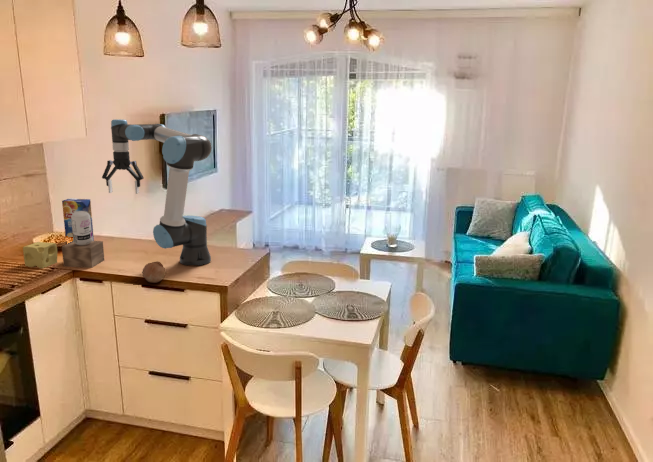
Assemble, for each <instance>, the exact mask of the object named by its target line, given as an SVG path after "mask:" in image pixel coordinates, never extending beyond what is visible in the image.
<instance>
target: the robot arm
mask: <svg viewBox="0 0 653 462" xmlns="http://www.w3.org/2000/svg"><path fill="white" fill-rule="evenodd" d="M110 125H111V126H110V130H111V141H112V142H111V143H112V150H113V152H112V154H113V155H112V157H113V160H111V159H110V160H109V159H108V160H107V162H106V167H105V169H104V171H103V174H102V177H101V178H102V179H104V180H105V182H106V186H107V187H108V194H112V193H113V182H112V179H111V178H112V177H113V176H114V174H115V173H117V172H116V171H117V170H119V171H121V170H122V171H124V170H126V171H128V173H129V174H130V175H131V176H132V177H133V178H134V180H135V181H134V188H135V189H134V193H135V195H136V194H139V193H140V189H139V188H140V187H141V180H144V178H145V177H144V176H143V174H142V172H141V170H140V168H139V166H138V165H137V161H136V160H132V161H131V160H130V151H129V150H130V147H129V141H133V142H136V141H137V142H138V141H146V140H149V141H150V140H155V141H158V142H161V143H163V145H162V149H161V152H162V155H163V156H162V158H163V160H164V161H165V162H166V166H168V168H169V170H168V178H167V184H166V185H167V187H166V194H165V204H164V213H163V215H162V216H161V217H160V218H159V224H156V225H155V226H153V230H152V235H153V238H154V241H155V242H156V245H157V246H159V247H160V248H162V249H172V248H175V247H179V246H182V249H181V252H180V255H179V263H180V264H181V265H184V266H188V265H198V266H204V265H207V264H209V263H211V262H212V256H211V253H210V251H209V248H208V241H207V240H208V239H207V238H208V237H207V234H208V232H207V231H208V230H207V227H208V225H207V220H206V218H205V217H204V216H203V217H202V216H198V215H184V212H185V205H186V196H187V189H188V183H189V175H190V171H192V170H193V169H194V163H195V162H200V161H204V160H206V159H207V158H208V157H209V156H210V154H211V153H212V143H211V141H210V139H209V138H207V137H206V136H204V135H202V134H198V133H197V134H196V133H193V134H190V133H187V132H186V133H185V132H182V131H179V130H176V129H173V128H169V127H166V126H165V124H162V123H150V124H149V123H148V124H142V123H139V124H135V123H134V124H131V123H130V124H128V120H127V119H121V118H120V119H119V118H118V119H117V118H116V119H111V121H110ZM112 165H114V166H113V168H112V169H111V167H112ZM130 165H131V166H132V167H133V168H132V167H131V166H130ZM133 169H134V170H133ZM110 170H111V171H110ZM210 261H211V262H210ZM203 264H204V265H203Z"/></svg>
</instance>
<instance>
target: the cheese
mask: <svg viewBox="0 0 653 462" xmlns="http://www.w3.org/2000/svg"><path fill="white" fill-rule="evenodd" d="M22 251H23V260H24V265H25V267H26V266H28V267H29V268H37V267H39V268H38V269H45V268H47V267H49V266H51V265H55V264H57V263H58V247H57V243H56V242H43V241H37V242H34V243H31V244H28V245H25V246H22ZM36 266H37V267H36ZM28 267H27V268H28ZM44 267H45V268H44Z"/></svg>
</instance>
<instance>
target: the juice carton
mask: <svg viewBox="0 0 653 462" xmlns="http://www.w3.org/2000/svg"><path fill="white" fill-rule="evenodd" d="M61 202H62V213H63V222H64V223H63V225H64V233H65V234H64V235H65V237H66V236H68V237H73V231H72V221H71V216H72V214H73V213H74V212H76V211H86V212H88V213H89V215H90V219H91V231H92V241H95V240H94V239H95V238H94V237H95V236H94V229H93V228H94V227H93V215H92V201H91V199H89V198H86V199H85V198H75V197H74V198H73V197H70V198H67V199H64V200H63V199H62V200H61Z"/></svg>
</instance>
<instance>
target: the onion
mask: <svg viewBox="0 0 653 462" xmlns="http://www.w3.org/2000/svg"><path fill="white" fill-rule="evenodd" d="M165 274H166V269H165V267H164V265H163V264H162V262H161V261H153V262H148V263H146V264H145V265H144V267H143V268H142V276H143V277H144V279H145V280H146V281H147V282H148V283H150V284H151V283H153V284H155V283H159V282H161V281H162V280H163V279H164V277H165Z"/></svg>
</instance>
